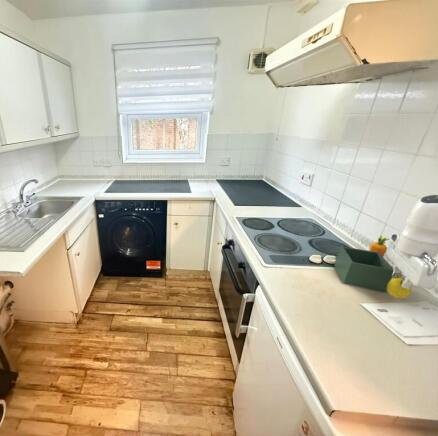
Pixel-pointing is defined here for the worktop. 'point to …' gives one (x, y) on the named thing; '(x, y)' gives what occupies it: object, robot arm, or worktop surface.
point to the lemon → (397, 288)
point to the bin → (363, 268)
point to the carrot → (379, 246)
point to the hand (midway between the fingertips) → (399, 282)
